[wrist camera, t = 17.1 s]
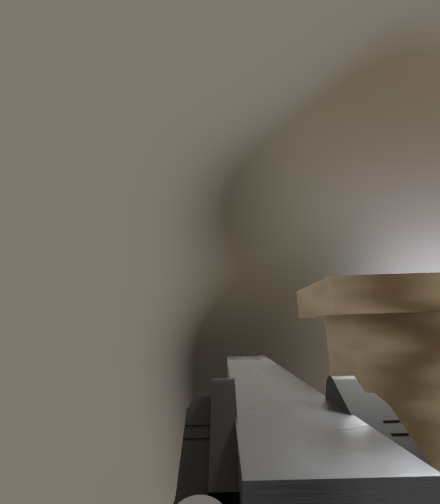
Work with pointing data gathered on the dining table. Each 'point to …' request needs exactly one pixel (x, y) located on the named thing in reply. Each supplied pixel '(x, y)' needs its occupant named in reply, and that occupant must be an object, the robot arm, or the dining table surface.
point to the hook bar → (315, 447)
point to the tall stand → (386, 343)
